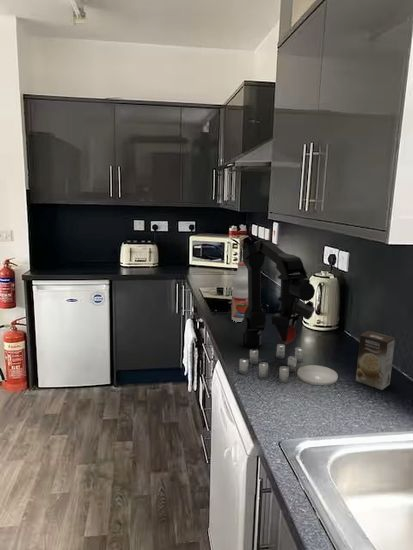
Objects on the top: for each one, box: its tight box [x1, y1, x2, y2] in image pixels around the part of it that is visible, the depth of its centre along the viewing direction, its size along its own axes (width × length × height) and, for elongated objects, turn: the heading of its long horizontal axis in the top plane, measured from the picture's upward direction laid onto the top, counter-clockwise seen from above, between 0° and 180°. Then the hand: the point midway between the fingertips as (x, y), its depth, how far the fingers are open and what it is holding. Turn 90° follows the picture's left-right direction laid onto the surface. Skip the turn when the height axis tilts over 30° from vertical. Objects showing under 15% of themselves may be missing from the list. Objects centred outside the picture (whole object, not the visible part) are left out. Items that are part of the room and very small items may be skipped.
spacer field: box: [238, 343, 305, 384], centre depth 148 cm, size 17×22×4 cm
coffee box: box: [355, 330, 396, 391], centre depth 134 cm, size 9×6×16 cm
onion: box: [277, 325, 297, 345], centre depth 143 cm, size 6×6×8 cm
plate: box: [296, 364, 339, 387], centre depth 140 cm, size 13×13×1 cm
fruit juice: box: [231, 261, 248, 323], centre depth 197 cm, size 9×9×28 cm
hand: (287, 338), depth 143 cm, fingers closed on onion, 6 cm apart
